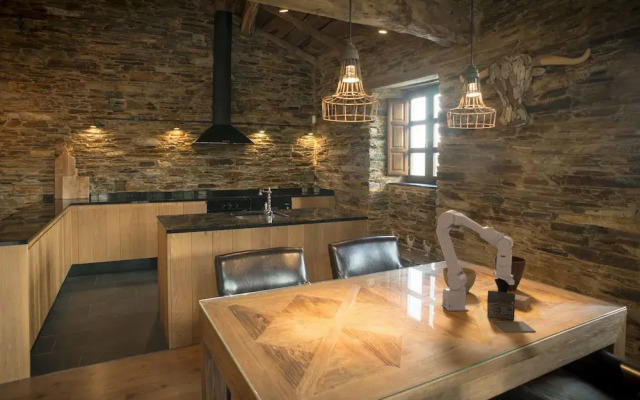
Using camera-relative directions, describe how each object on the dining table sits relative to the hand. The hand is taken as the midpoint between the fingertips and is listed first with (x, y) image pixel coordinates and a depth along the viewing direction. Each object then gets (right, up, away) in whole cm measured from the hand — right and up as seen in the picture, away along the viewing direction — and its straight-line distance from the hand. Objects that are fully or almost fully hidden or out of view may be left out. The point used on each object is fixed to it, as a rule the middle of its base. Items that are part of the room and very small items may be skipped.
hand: (502, 296), depth 176 cm
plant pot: (+21, -5, +40) cm, 46 cm away
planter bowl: (-7, -6, +35) cm, 36 cm away
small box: (0, -7, +1) cm, 7 cm away
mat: (0, -10, -10) cm, 14 cm away
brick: (+11, -8, +18) cm, 22 cm away
